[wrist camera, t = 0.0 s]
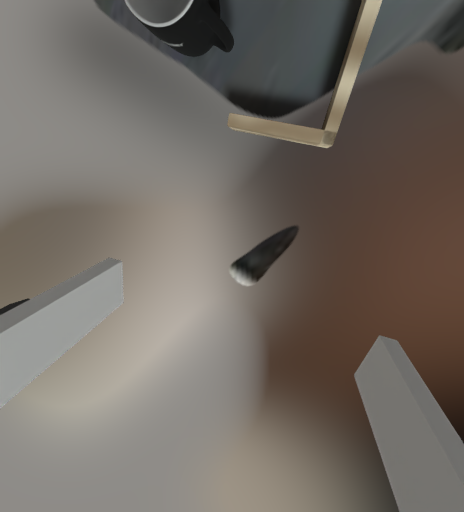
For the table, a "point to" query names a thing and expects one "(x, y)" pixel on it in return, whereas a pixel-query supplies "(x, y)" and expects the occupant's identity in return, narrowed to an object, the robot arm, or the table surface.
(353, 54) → the bay
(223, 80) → the table surface
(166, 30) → the mug
